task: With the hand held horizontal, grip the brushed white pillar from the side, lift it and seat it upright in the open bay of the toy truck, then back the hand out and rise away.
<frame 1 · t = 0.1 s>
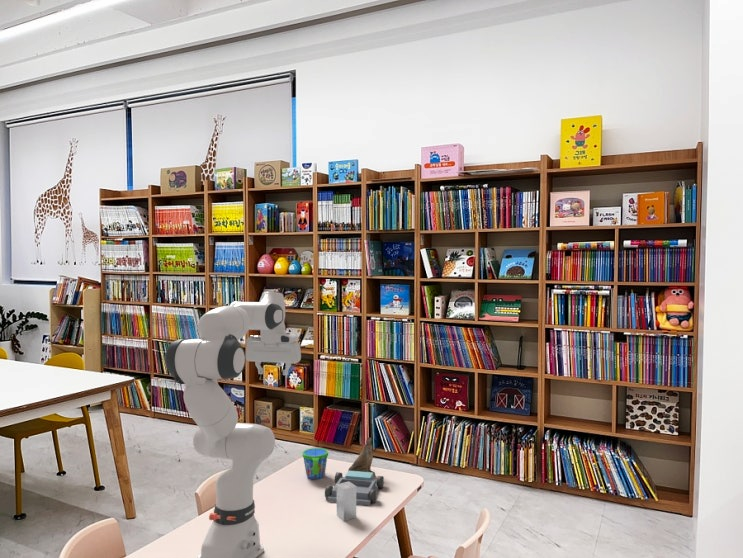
hand: (273, 374, 199), 48 cm above the table, tool pointing down, fingers open, 8 cm apart
toy truck: (355, 492, 211), on the table
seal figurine: (361, 474, 229), on the table
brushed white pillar: (346, 516, 191), on the table
snack cup: (315, 476, 227), on the table
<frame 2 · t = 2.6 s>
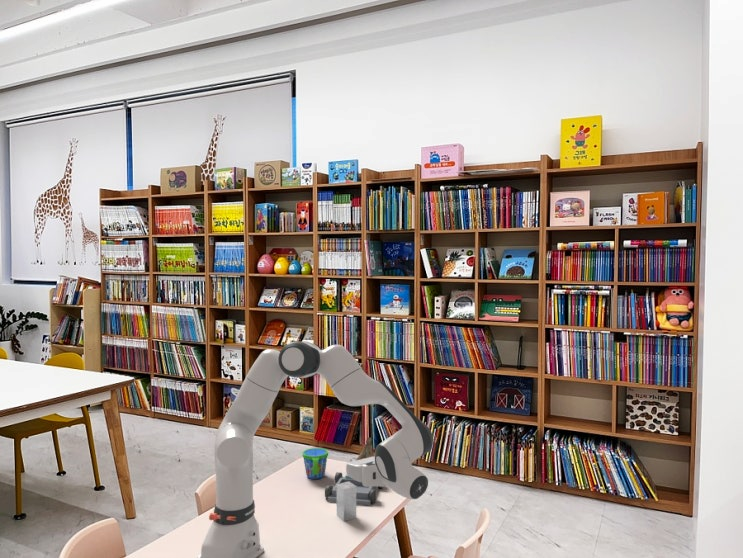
hand: (364, 457, 181), 24 cm above the table, tool horizontal, fingers open, 8 cm apart
nothing on the table moved.
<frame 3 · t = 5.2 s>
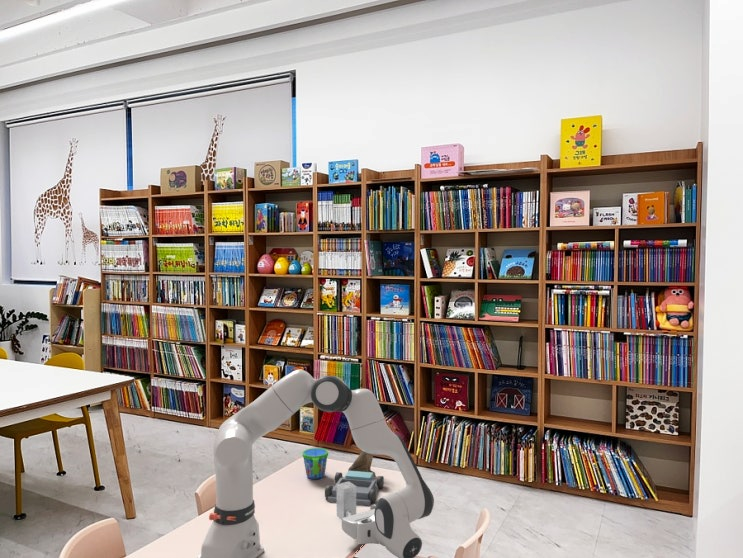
hand: (360, 510, 183), 6 cm above the table, tool horizontal, fingers open, 8 cm apart
nothing on the table moved.
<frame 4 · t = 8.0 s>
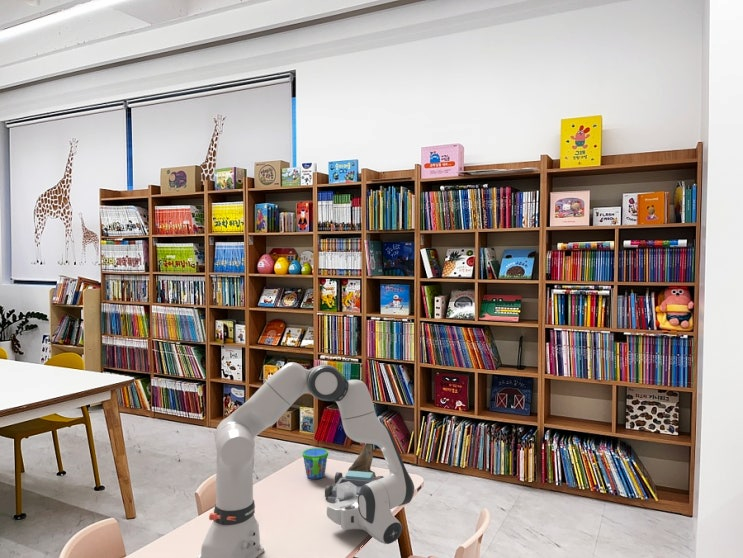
hand: (345, 498, 192), 6 cm above the table, tool horizontal, fingers closed on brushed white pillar, 5 cm apart
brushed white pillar: (346, 516, 191), on the table, touching gripper
everything else where it was.
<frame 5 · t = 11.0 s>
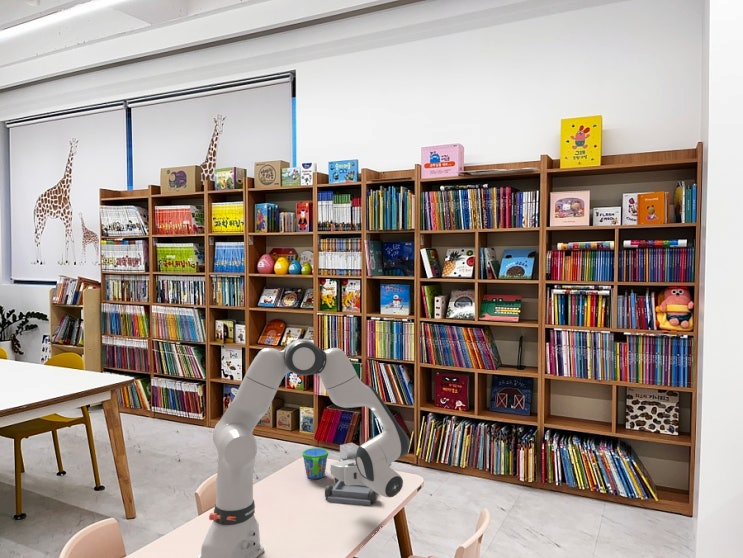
hand: (348, 458, 197), 18 cm above the table, tool horizontal, fingers closed on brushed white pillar, 5 cm apart
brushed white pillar: (349, 476, 196), point 12 cm above the table, touching gripper
everything else where it was.
when the fingers open (9 cm above the table, at t = 14.4 s): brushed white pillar drops 2 cm, resting on toy truck.
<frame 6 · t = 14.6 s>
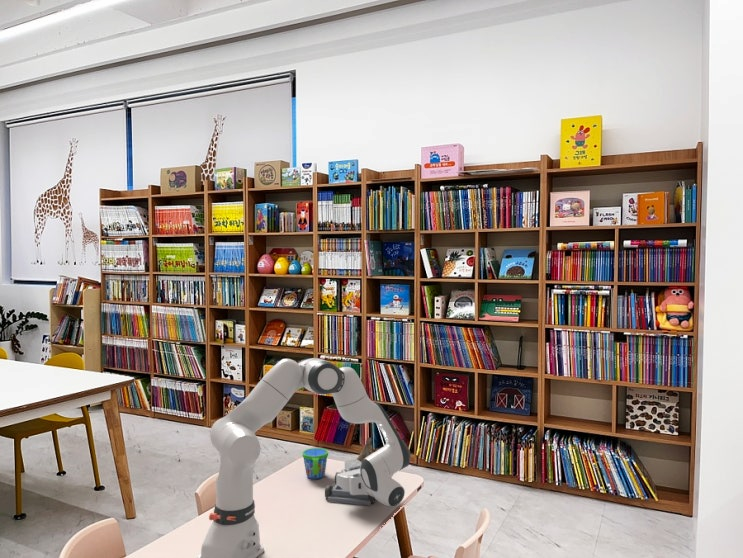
hand: (352, 469, 210), 9 cm above the table, tool horizontal, fingers open, 7 cm apart
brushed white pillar: (353, 490, 209), point 1 cm above the table, touching toy truck
everything else where it was.
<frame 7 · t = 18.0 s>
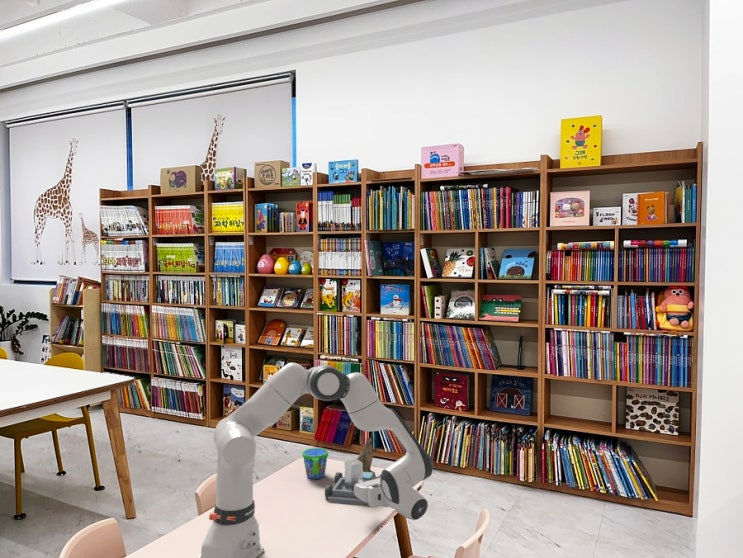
hand: (370, 478, 199), 10 cm above the table, tool horizontal, fingers open, 8 cm apart
nothing on the table moved.
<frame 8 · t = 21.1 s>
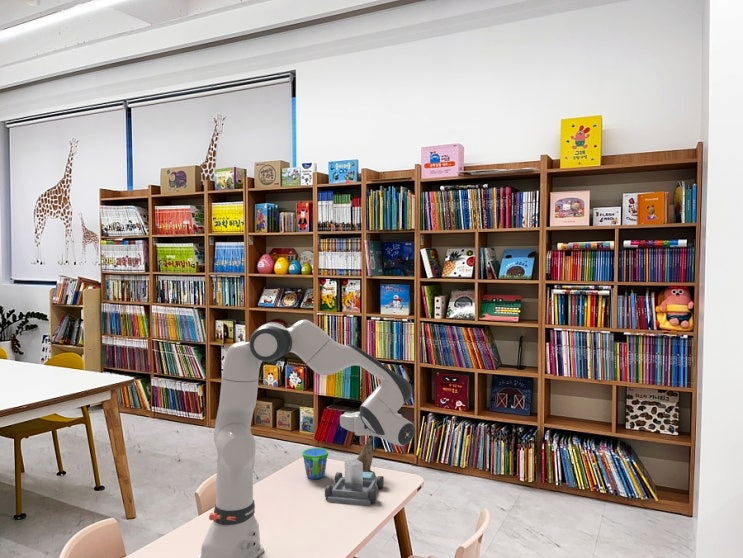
hand: (357, 412, 192), 36 cm above the table, tool horizontal, fingers open, 8 cm apart
nothing on the table moved.
at the end: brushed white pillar inside the target area on the toy truck (0.1 cm from its centre), point 1.5 cm above the toy truck's base; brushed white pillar tilted 0°; the gripper is holding nothing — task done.
